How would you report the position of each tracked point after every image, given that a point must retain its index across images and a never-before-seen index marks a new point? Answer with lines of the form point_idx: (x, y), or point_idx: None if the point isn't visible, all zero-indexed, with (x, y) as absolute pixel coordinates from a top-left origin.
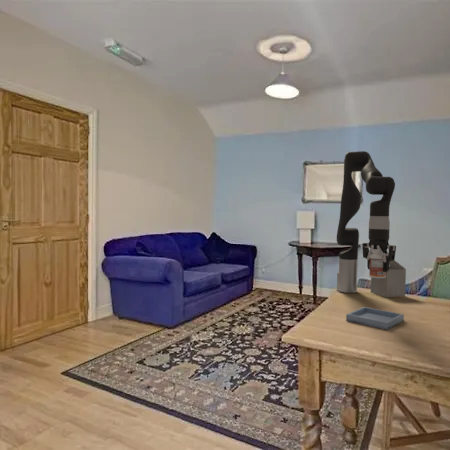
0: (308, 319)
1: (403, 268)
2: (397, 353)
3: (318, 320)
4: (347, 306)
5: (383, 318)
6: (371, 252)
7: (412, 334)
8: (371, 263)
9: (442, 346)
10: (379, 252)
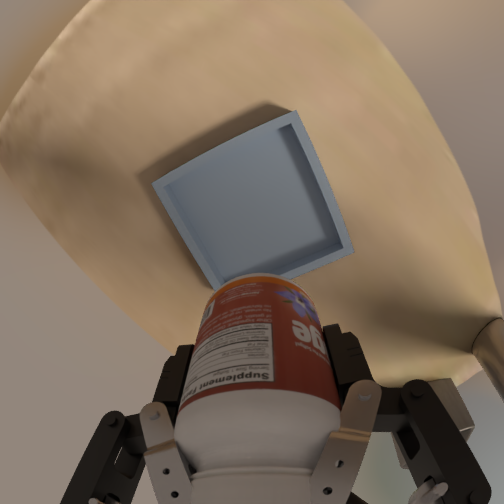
0: (345, 10)
1: (406, 466)
2: (36, 98)
3: (325, 28)
4: (421, 242)
5: (247, 241)
6: (316, 466)
7: (114, 221)
8: (265, 344)
9: (48, 224)
10: (187, 481)
